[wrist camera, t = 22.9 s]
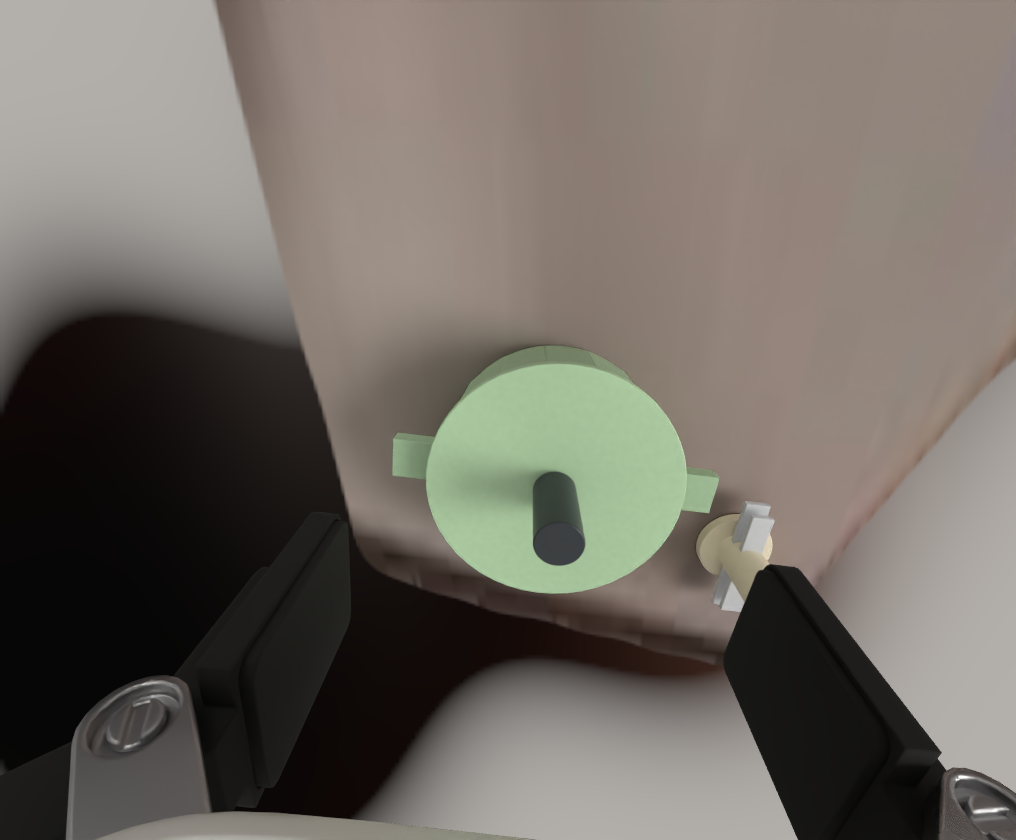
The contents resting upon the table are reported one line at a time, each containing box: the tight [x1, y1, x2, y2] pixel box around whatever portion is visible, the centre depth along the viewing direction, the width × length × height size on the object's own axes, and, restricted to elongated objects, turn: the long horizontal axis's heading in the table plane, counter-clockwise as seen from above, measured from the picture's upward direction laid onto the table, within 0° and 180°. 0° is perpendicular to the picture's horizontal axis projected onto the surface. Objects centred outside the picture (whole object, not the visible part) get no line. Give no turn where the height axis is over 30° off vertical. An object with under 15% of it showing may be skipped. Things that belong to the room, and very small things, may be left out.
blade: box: [696, 501, 775, 612], centre depth 29 cm, size 8×5×10 cm, turn 173°
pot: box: [392, 345, 719, 513], centre depth 29 cm, size 13×19×6 cm
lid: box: [426, 361, 687, 594], centre depth 24 cm, size 14×14×6 cm
